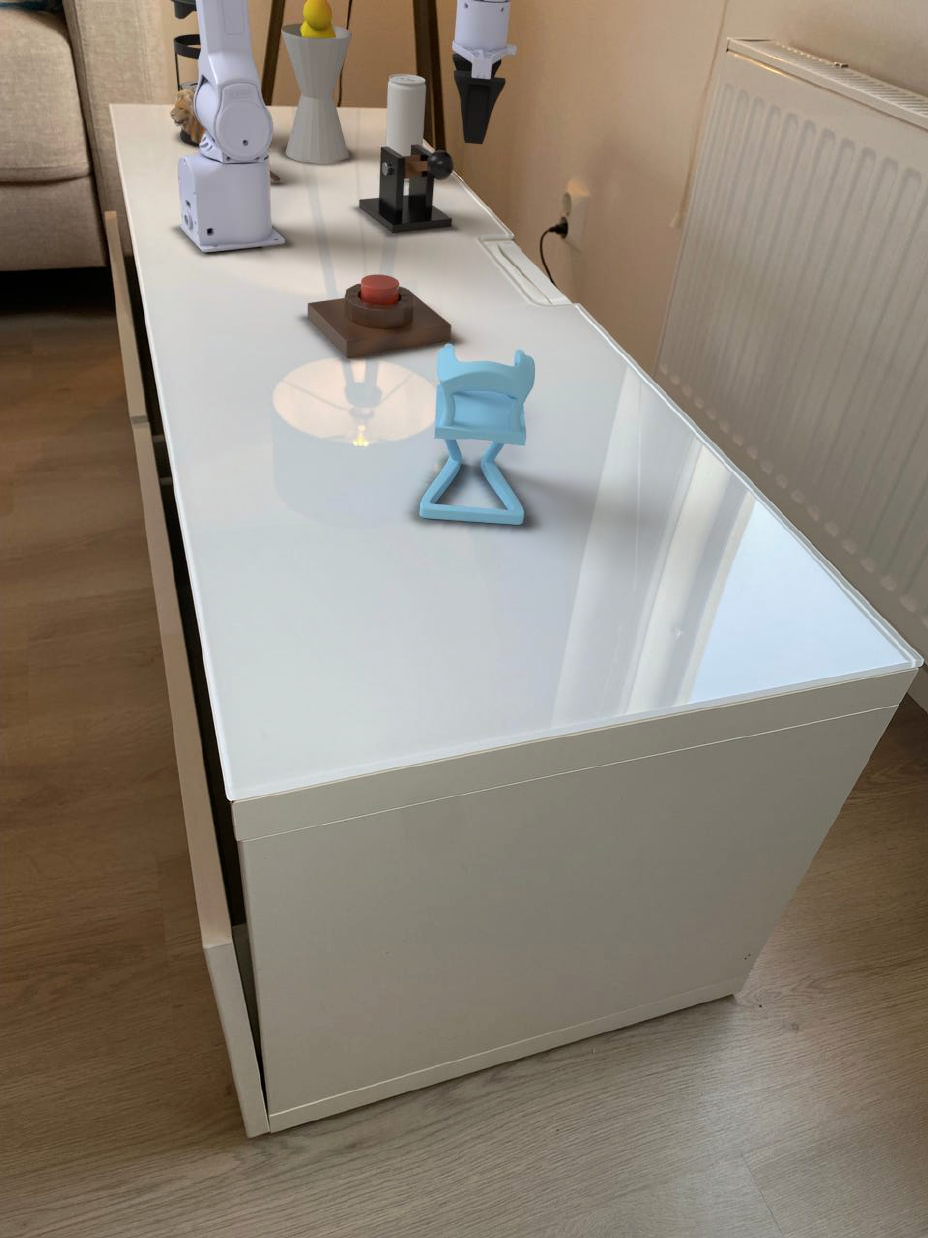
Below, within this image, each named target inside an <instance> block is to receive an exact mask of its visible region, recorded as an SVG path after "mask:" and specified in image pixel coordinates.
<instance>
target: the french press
mask: <svg viewBox="0 0 928 1238" xmlns="http://www.w3.org/2000/svg"><path fill="white" fill-rule="evenodd" d="M170 1H171V2H172V3H173V10H174V17H175V18H176V19H178V20H185V19H186V18H187V17H188V16H190V15H191V14H192V13H193V12H197V7H196V0H170ZM172 39H173V51H174V63H175V74H176V85H177V87H176V88H177V92H178V91H181V90H183V89H189V90H192V91H196V88H197V85H198V81H199V80H191V81H186V82H183V83H181V82H180V71H179V70H180V69H179V60H178V56H181V57H184V58H188V59H193V60H198V59H199V56H200V52H201V47H194V46H201V41H200V33H189V34H188V33H187V34H181V35H177V36H175V37H173V38H172ZM180 83H181V84H180ZM179 138H180V140H181V141H182V142H184V143H185V144H187V145H190V146H192V147H197V148H200V144H198V143H196V142H194V141H192V138H191V136H190V135H189V134H188V133H186V132H185V131H184V130H183V129H182V128H181V127H180V132H179Z"/></svg>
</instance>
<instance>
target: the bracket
mask: <svg viewBox="0 0 928 1238" xmlns="http://www.w3.org/2000/svg"><path fill="white" fill-rule="evenodd" d="M432 153H433V152H431V151H430V150H428V149H426V148H424V146H423V147H422V146H420V145H418V144H416V145H411V155H410V156H413V155H420V159H421V162H422V161H428V158H429V156H430V155H431V154H432ZM379 155H380V156H379V182H378V183H379V188H378V197H371V198H362V199H358V208H359V209H360V210H361V211H362V212H364V213H365V214H367V215H368V216H369V217H371V218H372V219H373V220H374V221H376V222H377V223H378V224H379V225H381V226H382V227H384V228H385V229H386V230H387V231H389V232H390V233H391V234H399V233H407V232H409V233H410V232H416V231H425V230H435V229H443V228H451V227H452V226H453V225H452V224H453V218H452V217H451V216H449V215H447V214H446V213H444V212H443V211H442V210H440V208H438V207H436V206H435V205H433V203H434V188H435V178H433V177H432V176H431V175H430V174H429V172H428V171H421V172H422V177H421V178H409V182H408V192H407V193H408V194H404V193H405V182H404V176H405V157H404V156H402V155H400V154H399V153H397V152H396V151H394V150H393V149H391V148H390V147H388V146H386V145H385V146H380V153H379Z"/></svg>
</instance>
